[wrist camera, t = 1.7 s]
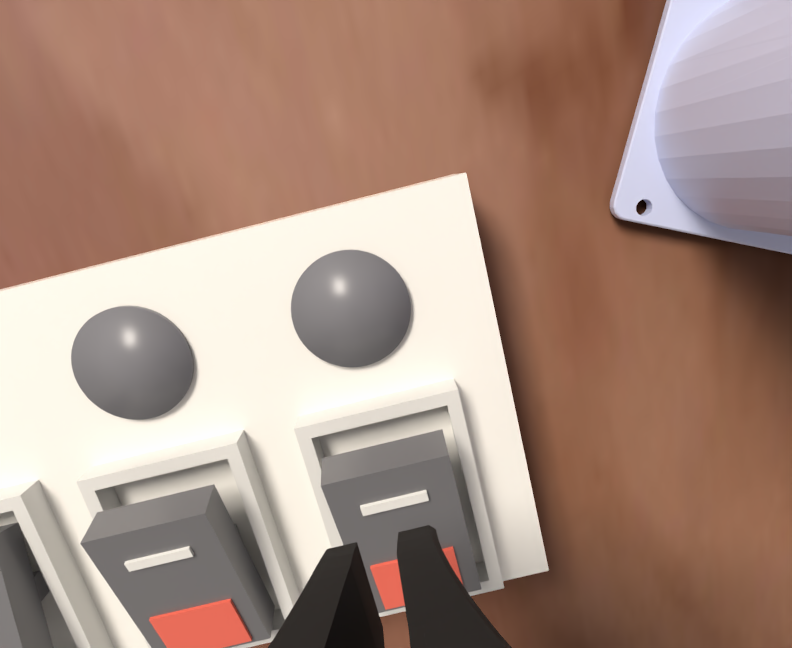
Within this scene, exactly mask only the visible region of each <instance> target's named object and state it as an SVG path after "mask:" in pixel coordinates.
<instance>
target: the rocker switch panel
mask: <svg viewBox="0 0 792 648" xmlns="http://www.w3.org/2000/svg"><path fill="white" fill-rule="evenodd" d="M441 429H442V430H443V434H444V438H445V441H446V445H447V449H448V453H449V457H450V461H451V465H452V469H453V474H454V478H455V482H456V486H457V490H458V494H459V498H460V502H461V506H462V511H463V515H464V519H465V523H466V527H467V531H468V535H469V539H470V543H471V547H472V552H473V556H474V560H475V564H476V568H477V572H478V576H479V580H480V584H481V590H477V591H472V592H468V593H469V595H470V596H473V595H477V594H481V593H486V592H490V591H494V590H499V589H503V588H504V584H503V581H506V580H510V579H515V578H519V577H523V576H527V575H532V574H536V573H540V572H545V571H549V569H548V564H547V559H546V554H545V549H544V545H543V540H542V535H541V530H540V525H539V520H538V516H537V511H536V506H535V501H534V496H533V492H532V487H531V482H530V477H529V472H528V468H527V463H526V458H525V453H524V448H523V444H522V439H521V434H520V429H519V424H518V420H517V415H516V410H515V405H514V400H513V396H512V391H511V386H510V381H509V376H508V372H507V367H506V362H505V357H504V352H503V348H502V343H501V338H500V333H499V328H498V324H497V319H496V314H495V309H494V304H493V300H492V295H491V290H490V285H489V280H488V275H487V271H486V266H485V261H484V256H483V251H482V247H481V242H480V237H479V232H478V227H477V223H476V218H475V213H474V208H473V203H472V199H471V194H470V189H469V184H468V179H467V175H466V173H460V174H452V175H448V176H444V177H440V178H436V179H432V180H429V181H425V182H421V183H417V184H413V185H409V186H405V187H401V188H397V189H393V190H389V191H385V192H381V193H377V194H374V195H370V196H366V197H362V198H358V199H354V200H350V201H346V202H342V203H338V204H334V205H330V206H326V207H322V208H319V209H315V210H311V211H307V212H303V213H299V214H295V215H291V216H287V217H283V218H279V219H275V220H271V221H267V222H264V223H260V224H256V225H252V226H248V227H244V228H240V229H236V230H232V231H228V232H224V233H220V234H216V235H212V236H209V237H205V238H201V239H197V240H193V241H189V242H185V243H181V244H177V245H173V246H169V247H165V248H161V249H157V250H154V251H150V252H146V253H142V254H138V255H134V256H130V257H126V258H122V259H118V260H114V261H110V262H106V263H102V264H99V265H95V266H91V267H87V268H83V269H79V270H75V271H71V272H67V273H63V274H59V275H55V276H51V277H47V278H44V279H40V280H36V281H32V282H28V283H24V284H20V285H16V286H12V287H8V288H4V289H0V526H4V525H8V524H12V523H17V522H18V523H19V525H20V527H21V531H22V535H23V538H24V542H25V545H26V549H27V553H28V556H29V560H30V564H31V567H32V571H33V574H34V578H35V582H36V585H37V589H38V592H39V596H40V600H41V603H42V607H43V611H44V614H45V618H46V621H47V625H48V629H49V632H50V636H51V639H52V643H53V647H54V648H151V646H150V645H149V643H148V642H147V640H146V639H145V637H144V636H143V635H142V633H141V632H140V630H139V629H138V627H137V626H136V624H135V623H134V621H133V620H132V618H131V617H130V616H129V614H128V613H127V611H126V610H125V608H124V607H123V605H122V604H121V602H120V601H119V599H118V598H117V597H116V595H115V594H114V592H113V591H112V589H111V588H110V586H109V585H108V583H107V582H106V580H105V579H104V578H103V576H102V575H101V573H100V572H99V570H98V569H97V567H96V566H95V564H94V563H93V561H92V560H91V558H90V557H89V556H88V554H87V553H86V551H85V550H84V548H83V547H82V545H81V544H80V543H81V541H82V539H83V537H84V535H85V534H86V532H87V530H88V528H89V526H90V524H91V523H92V521H93V519H94V517H95V515H96V513H97V512H101V511H105V510H109V509H113V508H117V507H121V506H126V505H130V504H134V503H138V502H142V501H146V500H151V499H155V498H159V497H163V496H167V495H171V494H175V493H180V492H184V491H188V490H192V489H196V488H200V487H205V486H209V485H213V484H214V485H215V487H216V489H217V491H218V493H219V495H220V497H221V499H222V501H223V503H224V505H225V507H226V509H227V511H228V513H229V515H230V517H231V519H232V521H233V523H234V525H235V527H236V529H237V531H238V533H239V535H240V537H241V539H242V541H243V543H244V545H245V547H246V549H247V551H248V553H249V555H250V557H251V559H252V561H253V563H254V565H255V567H256V569H257V571H258V573H259V575H260V577H261V579H262V581H263V583H264V585H265V587H266V589H267V591H268V593H269V595H270V597H271V599H272V601H273V603H274V605H275V608H274V616H273V624H272V631H271V638H269V639H265V640H261V641H256V642H252V643H248V644H243V645H239V646H235V647H231V648H248V647H252V646H256V645H261V644H265V643H269V642H272V640H273V639H274V637H275V636H276V634H277V633H278V631H279V629H280V628H281V626H282V624H283V623H284V621H285V619H286V618H287V616H288V614H289V613H290V611H291V610H292V608H293V606H294V605H295V603H296V601H297V599H298V598H299V596H300V594H301V593H302V591H303V589H304V587H305V586H306V584H307V582H308V580H309V579H310V577H311V575H312V573H313V571H314V570H315V568H316V566H317V564H318V563H319V561H320V559H321V557H322V556H323V554H324V553H325V551H326V550H327V549H329V548H333V547H338V546H342V545H343V542H342V540H341V537H340V535H339V532H338V529H337V527H336V524H335V522H334V519H333V517H332V514H331V511H330V509H329V506H328V504H327V501H326V498H325V496H324V493H323V491H322V488H321V471H322V458H325V457H329V456H333V455H337V454H341V453H345V452H350V451H354V450H358V449H362V448H366V447H370V446H375V445H379V444H383V443H387V442H391V441H395V440H399V439H404V438H408V437H412V436H416V435H420V434H424V433H429V432H433V431H437V430H441ZM403 611H406V609H405V607H403V608H399V609H394V610H390V611H386V612H381V613H379V616H380V617H382V616H386V615H390V614H395V613H399V612H403Z"/></svg>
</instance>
